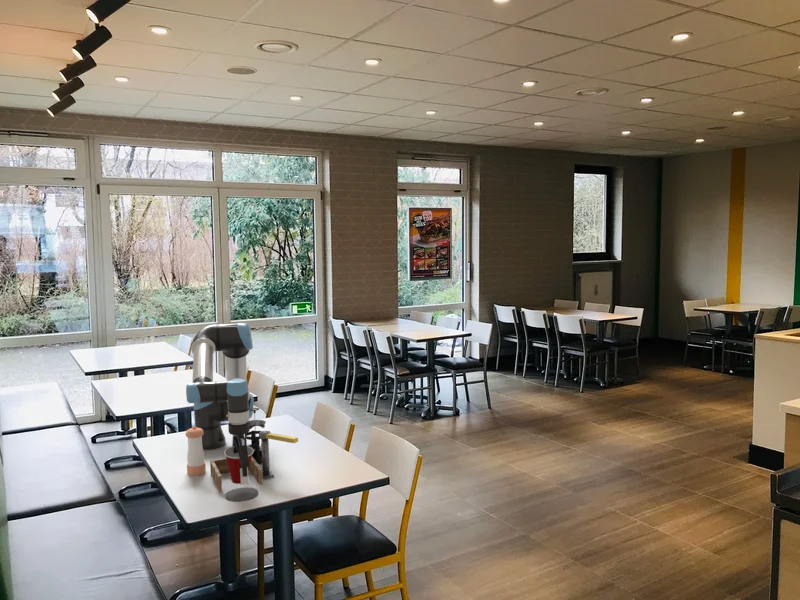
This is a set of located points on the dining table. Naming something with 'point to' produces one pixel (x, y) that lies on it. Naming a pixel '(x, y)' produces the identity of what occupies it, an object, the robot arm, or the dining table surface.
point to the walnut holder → (222, 468)
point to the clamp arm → (277, 437)
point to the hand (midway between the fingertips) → (241, 478)
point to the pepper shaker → (195, 452)
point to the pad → (241, 494)
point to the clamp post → (265, 460)
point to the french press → (255, 440)
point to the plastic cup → (236, 463)
